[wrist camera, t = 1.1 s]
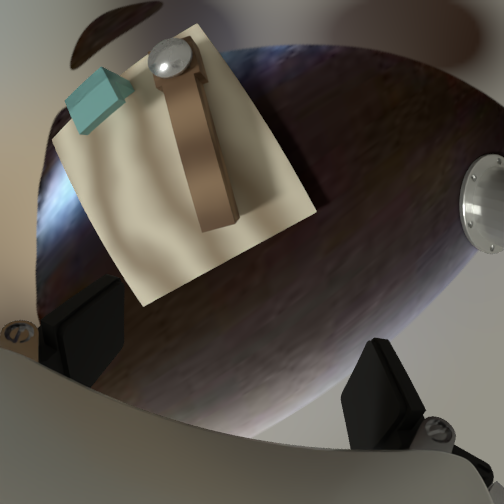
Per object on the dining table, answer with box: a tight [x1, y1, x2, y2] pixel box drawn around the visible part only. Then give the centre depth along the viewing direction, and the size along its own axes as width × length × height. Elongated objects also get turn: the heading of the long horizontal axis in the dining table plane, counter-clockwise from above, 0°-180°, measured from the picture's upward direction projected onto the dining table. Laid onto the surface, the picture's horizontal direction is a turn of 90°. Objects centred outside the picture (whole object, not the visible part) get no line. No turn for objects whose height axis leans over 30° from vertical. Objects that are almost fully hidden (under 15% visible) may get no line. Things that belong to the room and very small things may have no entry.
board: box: [52, 24, 317, 307], centre depth 28 cm, size 22×24×2 cm
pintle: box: [148, 38, 193, 79], centre depth 22 cm, size 4×4×5 cm
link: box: [148, 36, 240, 233], centre depth 24 cm, size 18×4×4 cm, turn 15°
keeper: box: [65, 67, 135, 135], centre depth 23 cm, size 5×4×6 cm
